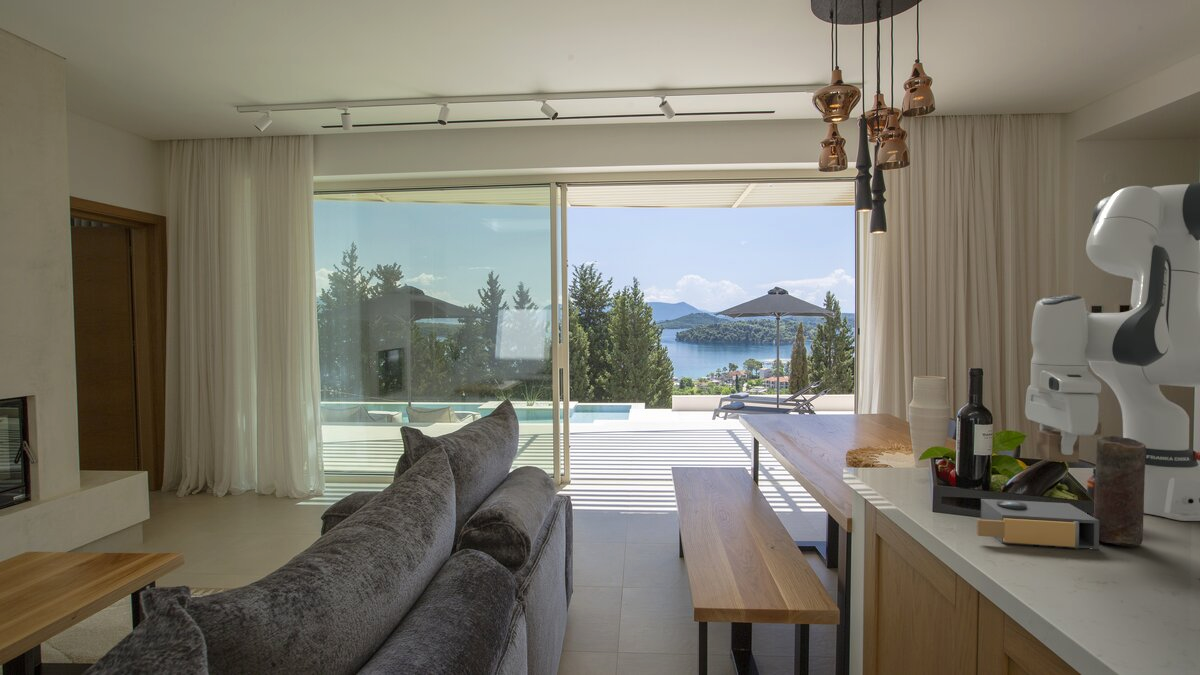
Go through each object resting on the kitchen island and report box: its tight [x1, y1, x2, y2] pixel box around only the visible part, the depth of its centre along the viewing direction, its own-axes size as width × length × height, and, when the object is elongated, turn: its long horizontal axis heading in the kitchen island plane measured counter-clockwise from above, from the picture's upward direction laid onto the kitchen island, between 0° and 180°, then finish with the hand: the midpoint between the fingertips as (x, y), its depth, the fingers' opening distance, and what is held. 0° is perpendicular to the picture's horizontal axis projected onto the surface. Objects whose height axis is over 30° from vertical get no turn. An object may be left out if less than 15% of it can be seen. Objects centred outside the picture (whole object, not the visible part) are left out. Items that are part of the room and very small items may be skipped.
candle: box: [1093, 435, 1146, 548], centre depth 118 cm, size 8×7×20 cm
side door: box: [976, 518, 1079, 549], centre depth 117 cm, size 17×1×5 cm, turn 77°
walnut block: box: [1036, 430, 1080, 463], centre depth 120 cm, size 5×5×5 cm
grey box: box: [980, 498, 1100, 550], centre depth 122 cm, size 16×11×6 cm
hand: (1057, 450), depth 120 cm, fingers closed on walnut block, 5 cm apart
